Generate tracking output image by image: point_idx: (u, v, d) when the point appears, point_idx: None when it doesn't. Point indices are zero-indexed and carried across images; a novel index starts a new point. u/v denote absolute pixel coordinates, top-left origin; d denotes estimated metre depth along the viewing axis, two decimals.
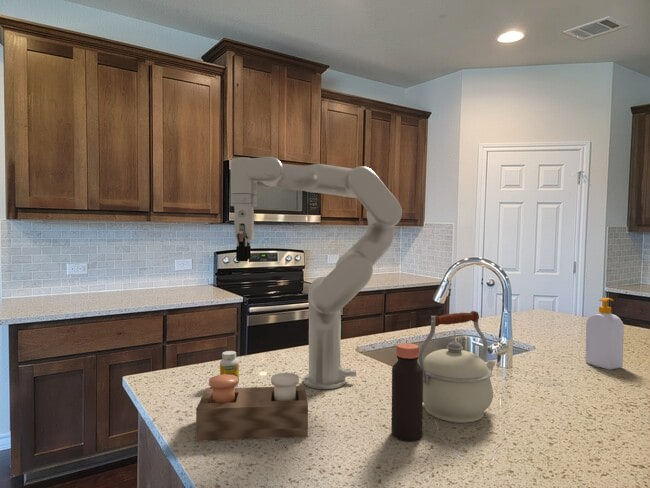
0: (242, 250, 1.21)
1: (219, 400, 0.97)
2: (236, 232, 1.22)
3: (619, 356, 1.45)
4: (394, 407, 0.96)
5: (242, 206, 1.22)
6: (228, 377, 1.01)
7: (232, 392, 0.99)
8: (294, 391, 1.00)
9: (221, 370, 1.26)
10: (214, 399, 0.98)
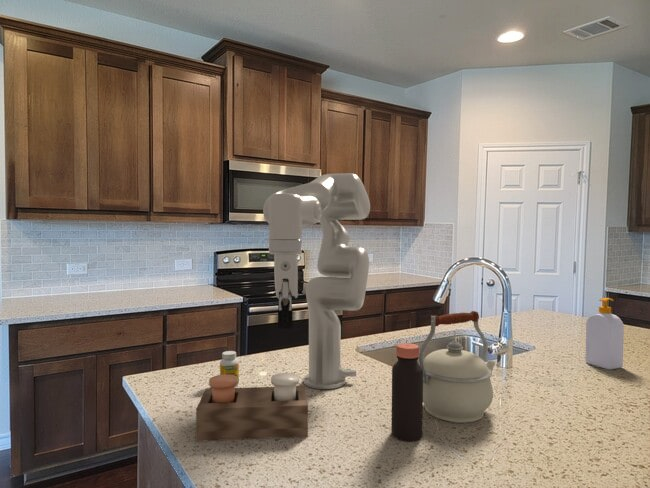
0: (286, 315, 0.96)
1: (219, 400, 0.97)
2: (278, 289, 0.96)
3: (619, 356, 1.45)
4: (394, 407, 0.96)
5: (285, 256, 0.96)
6: (228, 377, 1.01)
7: (232, 392, 0.99)
8: (294, 391, 1.00)
9: (221, 370, 1.26)
10: (214, 399, 0.98)
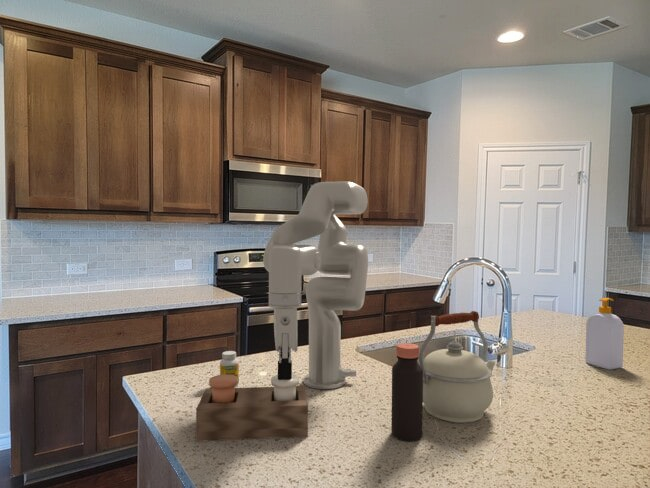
0: (285, 367, 1.00)
1: (219, 400, 0.97)
2: (277, 344, 0.96)
3: (619, 356, 1.45)
4: (394, 407, 0.96)
5: (285, 310, 0.96)
6: (228, 377, 1.01)
7: (232, 392, 0.99)
8: (294, 392, 1.00)
9: (221, 370, 1.26)
10: (214, 399, 0.98)
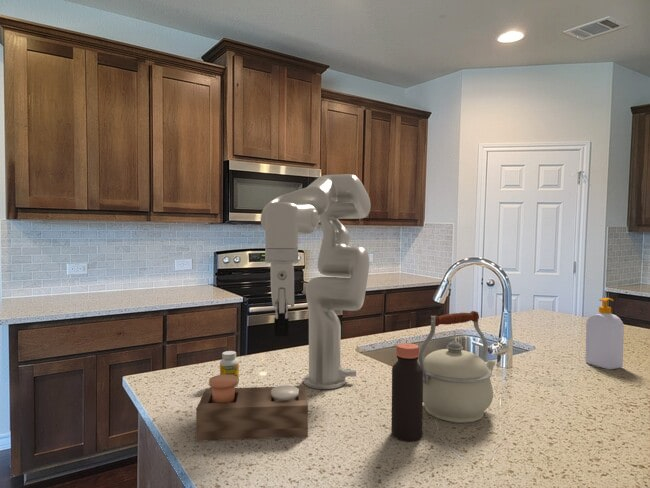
0: (282, 323, 0.99)
1: (219, 400, 0.97)
2: (274, 299, 0.95)
3: (619, 356, 1.45)
4: (394, 407, 0.96)
5: (282, 265, 0.96)
6: (228, 377, 1.01)
7: (232, 392, 0.99)
8: None
9: (221, 370, 1.26)
10: (214, 399, 0.98)
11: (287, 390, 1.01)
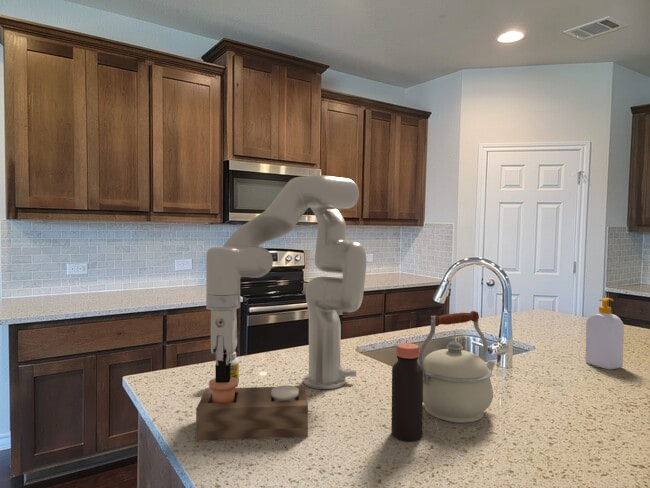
0: (223, 370, 0.98)
1: None
2: (212, 346, 0.94)
3: (619, 356, 1.45)
4: (394, 407, 0.96)
5: (220, 312, 0.95)
6: None
7: (232, 394, 0.99)
8: None
9: None
10: (214, 401, 0.98)
11: (287, 390, 1.01)
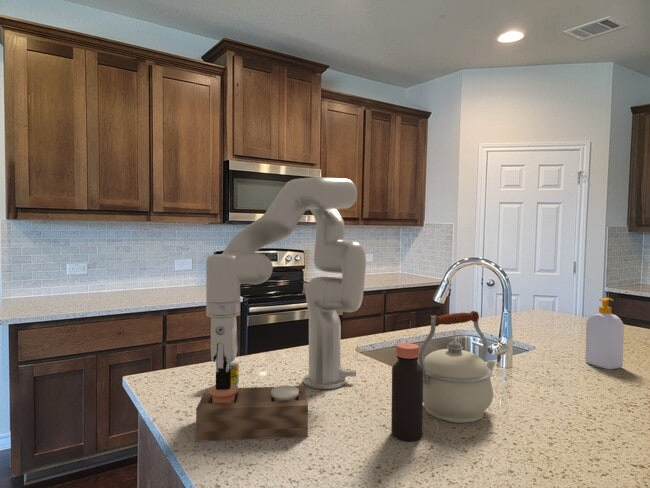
0: (223, 377, 0.98)
1: None
2: (212, 354, 0.94)
3: (619, 356, 1.45)
4: (394, 407, 0.96)
5: (220, 320, 0.95)
6: None
7: (232, 401, 0.99)
8: None
9: None
10: None
11: (287, 390, 1.01)
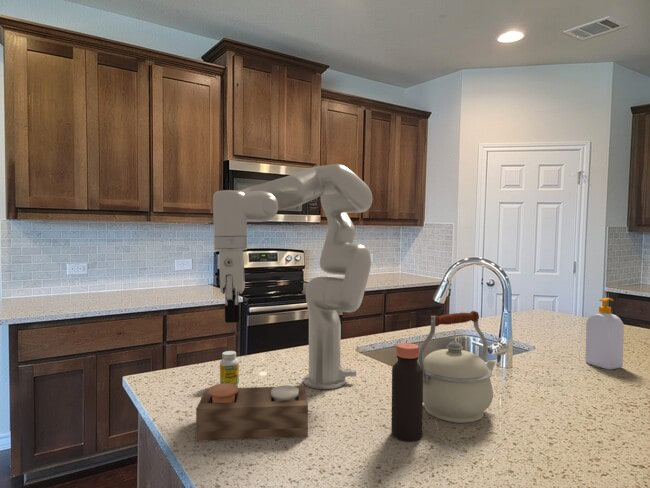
0: (232, 310, 1.01)
1: None
2: (222, 285, 0.97)
3: (619, 356, 1.45)
4: (394, 407, 0.96)
5: (228, 252, 0.97)
6: (228, 386, 1.01)
7: (232, 401, 0.99)
8: None
9: (221, 370, 1.26)
10: None
11: (287, 390, 1.01)
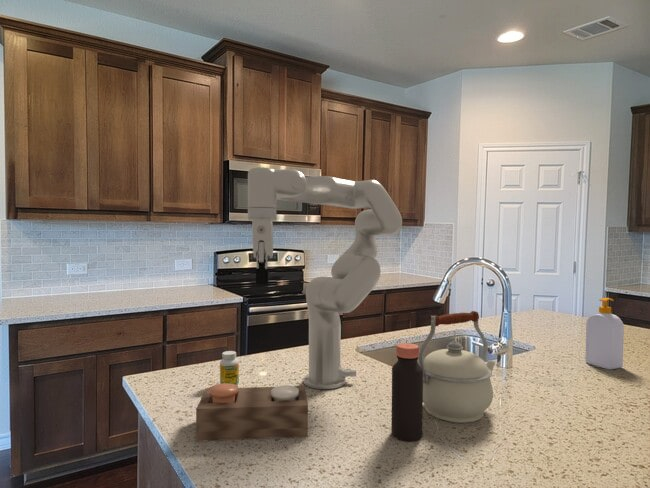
0: (262, 273, 1.14)
1: None
2: (255, 250, 1.11)
3: (619, 356, 1.45)
4: (394, 407, 0.96)
5: (261, 221, 1.11)
6: (228, 386, 1.01)
7: (232, 401, 0.99)
8: None
9: (221, 370, 1.26)
10: None
11: (287, 390, 1.01)
